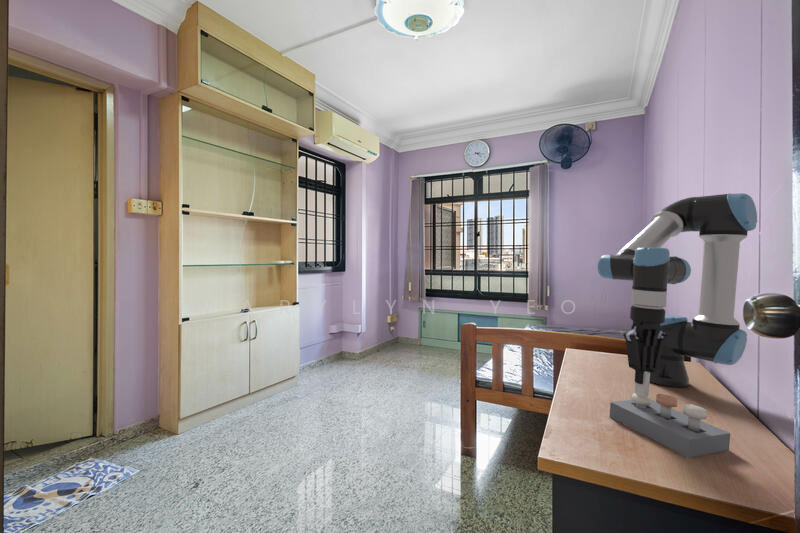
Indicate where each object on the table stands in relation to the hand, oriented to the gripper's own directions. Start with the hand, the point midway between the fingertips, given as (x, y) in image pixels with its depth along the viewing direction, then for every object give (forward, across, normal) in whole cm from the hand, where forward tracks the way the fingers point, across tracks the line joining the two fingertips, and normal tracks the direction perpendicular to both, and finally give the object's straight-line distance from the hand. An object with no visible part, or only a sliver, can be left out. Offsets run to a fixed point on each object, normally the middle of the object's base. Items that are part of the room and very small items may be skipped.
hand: (641, 395), depth 96 cm
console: (+7, 0, +6) cm, 9 cm away
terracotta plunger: (+3, 0, +7) cm, 7 cm away
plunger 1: (+5, 0, 0) cm, 5 cm away
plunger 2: (+3, 0, +13) cm, 13 cm away
